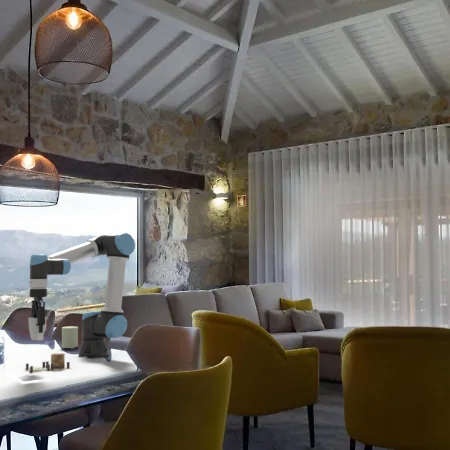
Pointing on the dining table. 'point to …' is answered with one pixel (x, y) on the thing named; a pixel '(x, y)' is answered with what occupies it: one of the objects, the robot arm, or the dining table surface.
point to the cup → (35, 327)
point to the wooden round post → (58, 360)
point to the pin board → (45, 368)
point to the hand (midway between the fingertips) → (37, 339)
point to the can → (69, 337)
